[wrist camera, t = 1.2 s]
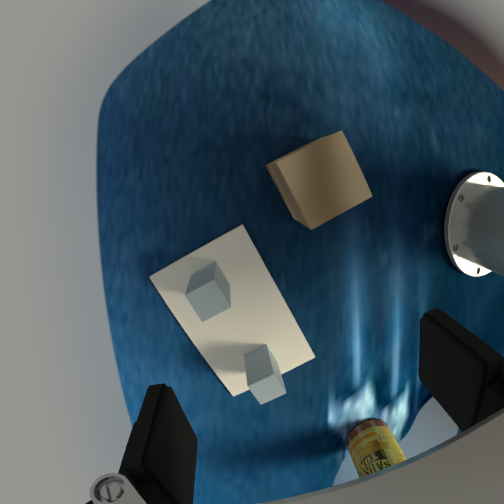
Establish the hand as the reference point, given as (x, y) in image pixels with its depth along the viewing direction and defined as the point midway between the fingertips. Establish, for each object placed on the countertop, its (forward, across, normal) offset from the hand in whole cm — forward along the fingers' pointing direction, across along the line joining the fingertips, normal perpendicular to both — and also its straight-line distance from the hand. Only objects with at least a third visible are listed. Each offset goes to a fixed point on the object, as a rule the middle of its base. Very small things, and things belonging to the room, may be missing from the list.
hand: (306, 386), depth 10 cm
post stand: (+20, +4, +6) cm, 21 cm away
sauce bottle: (+20, -8, +29) cm, 36 cm away
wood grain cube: (+20, -6, -6) cm, 21 cm away
